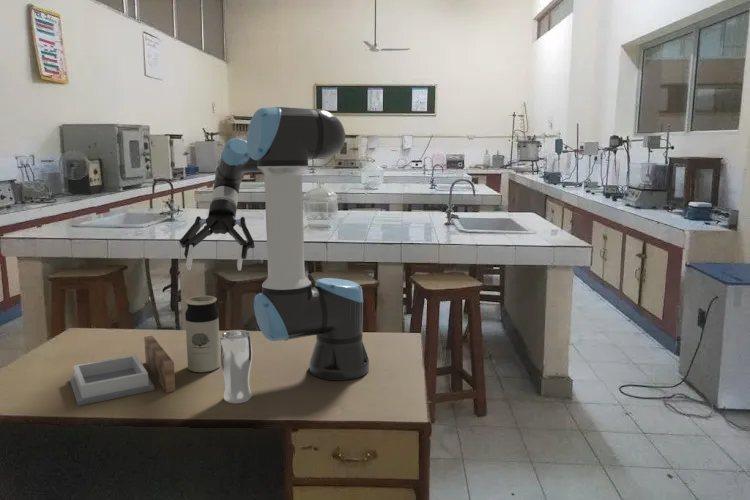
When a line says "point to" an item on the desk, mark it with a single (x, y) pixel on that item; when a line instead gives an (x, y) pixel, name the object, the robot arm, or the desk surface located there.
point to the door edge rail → (160, 364)
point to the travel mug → (202, 334)
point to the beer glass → (236, 364)
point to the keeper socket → (109, 379)
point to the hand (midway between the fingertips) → (213, 267)
